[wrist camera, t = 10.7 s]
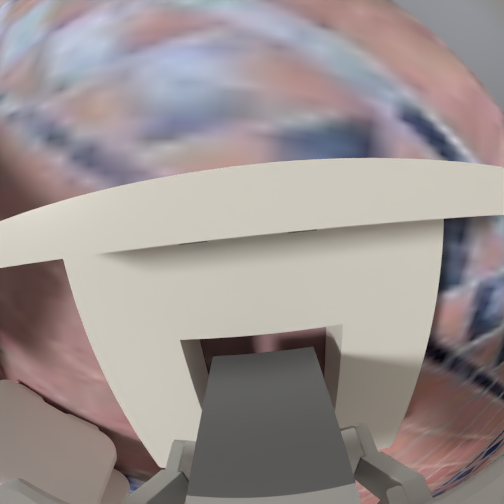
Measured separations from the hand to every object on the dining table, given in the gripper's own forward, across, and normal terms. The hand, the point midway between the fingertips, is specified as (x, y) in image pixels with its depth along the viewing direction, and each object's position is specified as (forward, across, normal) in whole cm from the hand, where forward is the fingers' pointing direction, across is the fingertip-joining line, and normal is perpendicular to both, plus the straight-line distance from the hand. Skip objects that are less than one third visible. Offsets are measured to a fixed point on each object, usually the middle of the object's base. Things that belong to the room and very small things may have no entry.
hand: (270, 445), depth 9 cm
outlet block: (+6, 0, 0) cm, 6 cm away
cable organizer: (+7, -21, -11) cm, 25 cm away
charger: (+4, 0, 0) cm, 4 cm away
